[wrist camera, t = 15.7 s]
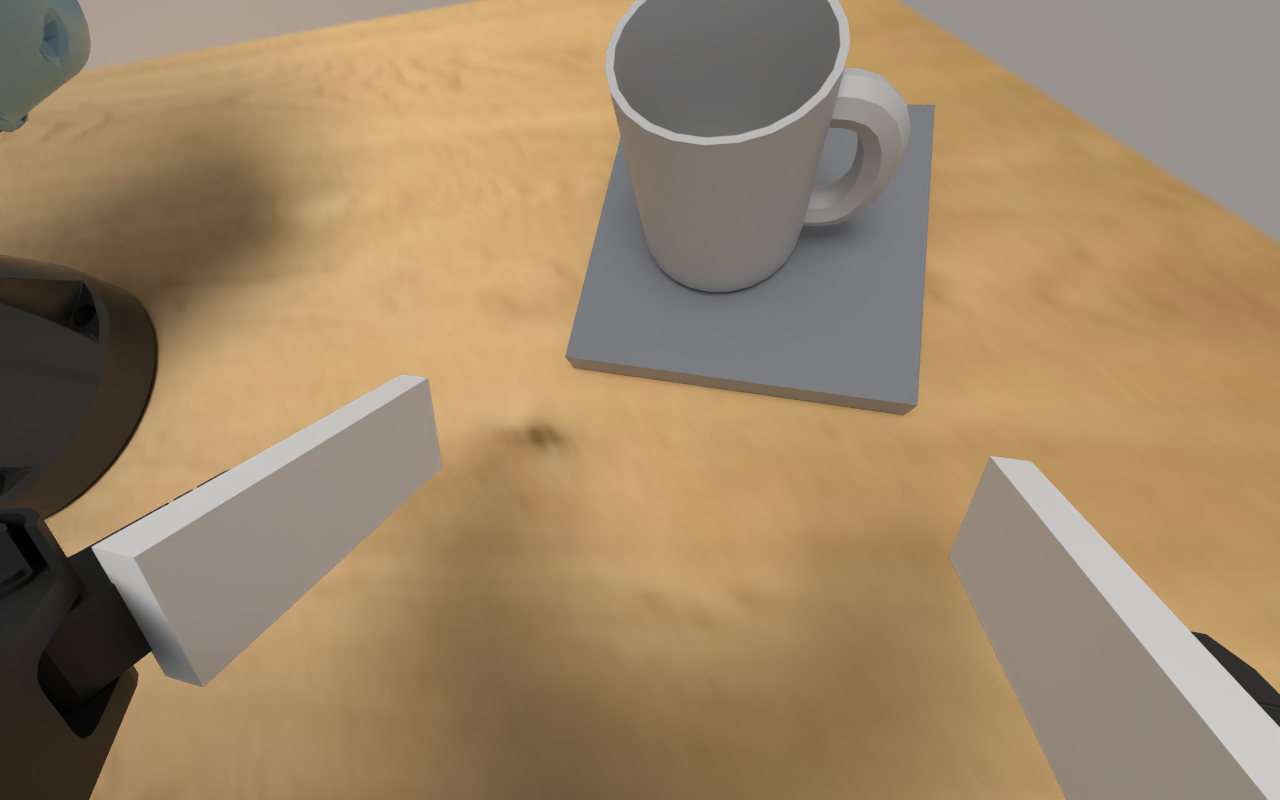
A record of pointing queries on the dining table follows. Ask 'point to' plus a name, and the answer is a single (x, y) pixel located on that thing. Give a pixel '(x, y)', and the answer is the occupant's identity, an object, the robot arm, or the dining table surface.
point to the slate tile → (774, 298)
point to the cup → (744, 130)
